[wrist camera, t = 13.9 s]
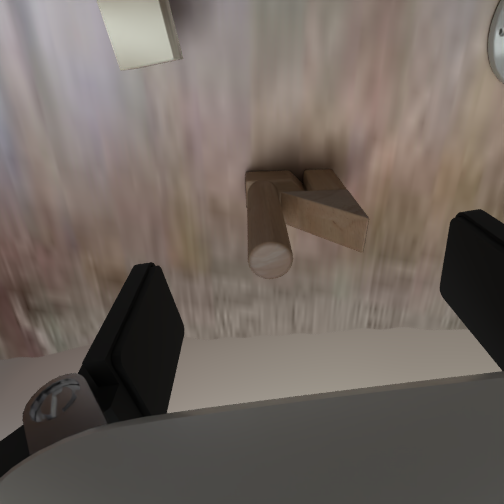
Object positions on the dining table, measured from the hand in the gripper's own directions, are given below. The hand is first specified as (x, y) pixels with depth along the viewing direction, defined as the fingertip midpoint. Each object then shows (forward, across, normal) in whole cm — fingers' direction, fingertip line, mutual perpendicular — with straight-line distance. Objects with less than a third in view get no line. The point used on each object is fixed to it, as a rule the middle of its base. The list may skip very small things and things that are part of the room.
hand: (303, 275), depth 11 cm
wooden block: (+31, -2, +8) cm, 32 cm away
